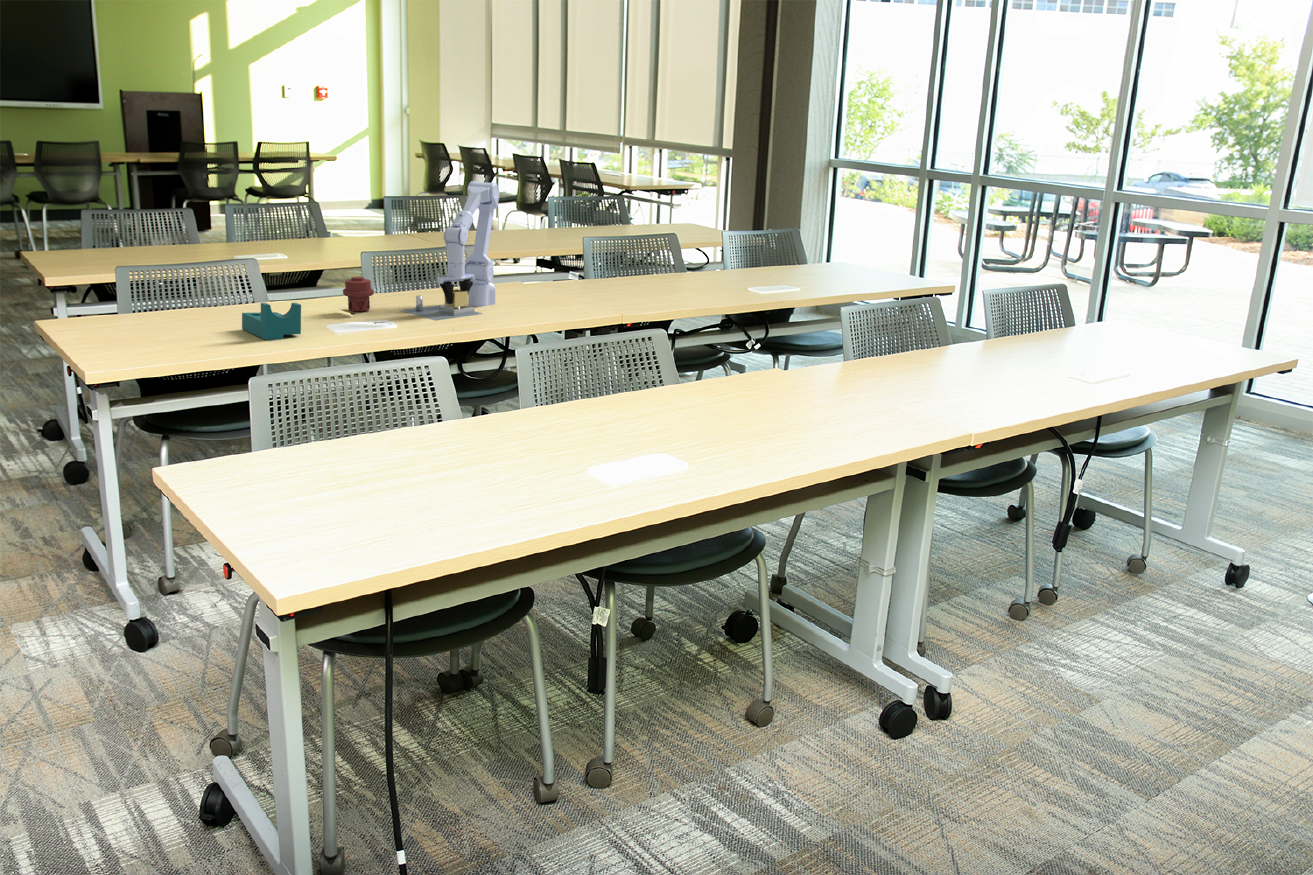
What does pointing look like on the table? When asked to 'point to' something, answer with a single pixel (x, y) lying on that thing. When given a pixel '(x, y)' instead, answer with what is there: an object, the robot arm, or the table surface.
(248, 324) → the teal l-shaped bracket
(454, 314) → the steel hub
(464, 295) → the brass collar
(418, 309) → the steel rod
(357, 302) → the mechanical component
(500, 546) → the table surface
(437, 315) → the board
